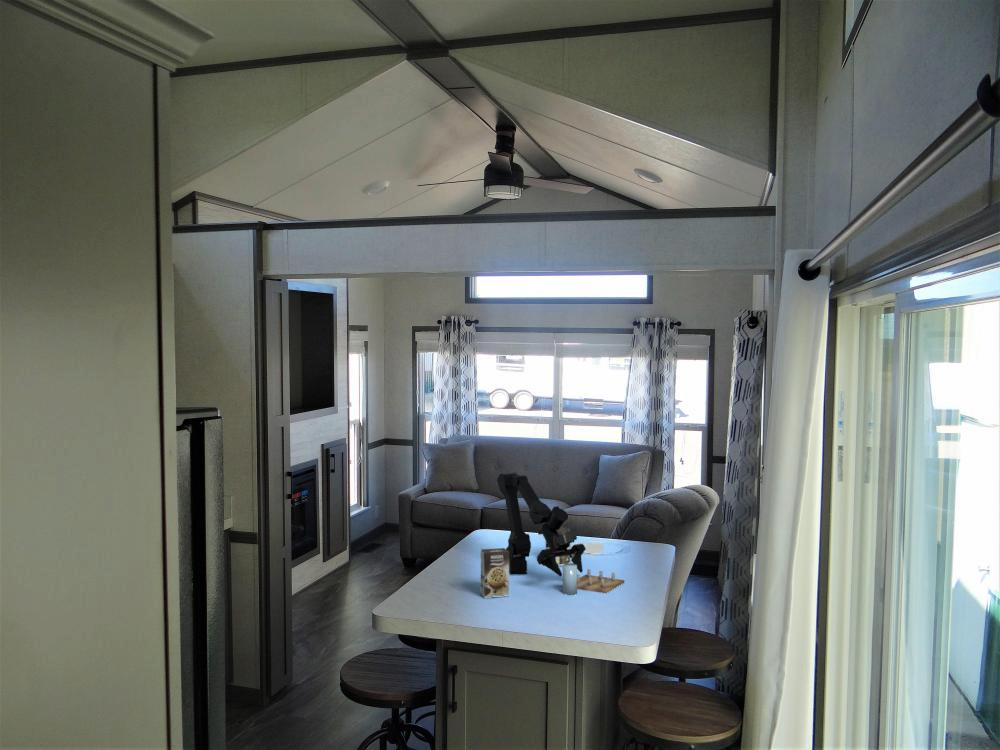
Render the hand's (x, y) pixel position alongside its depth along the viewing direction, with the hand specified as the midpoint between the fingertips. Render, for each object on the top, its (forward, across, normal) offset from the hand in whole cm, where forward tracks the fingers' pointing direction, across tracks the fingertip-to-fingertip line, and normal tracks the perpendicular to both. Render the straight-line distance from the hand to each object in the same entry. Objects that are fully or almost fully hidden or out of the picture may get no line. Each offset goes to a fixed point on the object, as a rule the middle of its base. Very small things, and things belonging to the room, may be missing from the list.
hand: (571, 573), depth 284 cm
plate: (-29, +52, +39) cm, 71 cm away
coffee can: (-22, +22, +32) cm, 45 cm away
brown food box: (-5, -24, +15) cm, 28 cm away
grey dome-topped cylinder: (+4, 0, +6) cm, 7 cm away
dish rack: (+2, +14, +8) cm, 17 cm away
